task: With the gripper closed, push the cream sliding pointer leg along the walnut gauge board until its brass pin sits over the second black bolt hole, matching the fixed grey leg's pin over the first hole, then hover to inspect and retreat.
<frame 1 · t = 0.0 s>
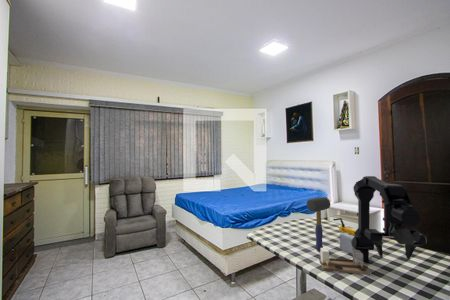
hand: (394, 258, 83), 15 cm above the table, fingers open, 9 cm apart
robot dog: (347, 241, 134), on the table
slider: (325, 257, 106), point 4 cm above the table, slide at 0.0 cm
rubber mallet: (319, 250, 122), on the table
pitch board: (343, 267, 104), on the table
medicine box: (348, 251, 121), on the table
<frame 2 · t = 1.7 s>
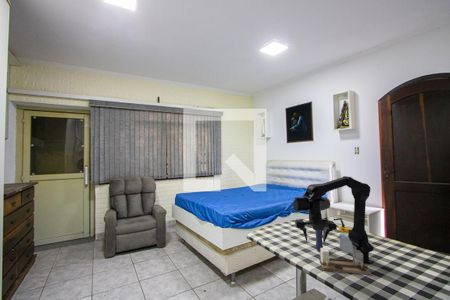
hand: (315, 241, 108), 11 cm above the table, fingers open, 8 cm apart
nothing on the table moved.
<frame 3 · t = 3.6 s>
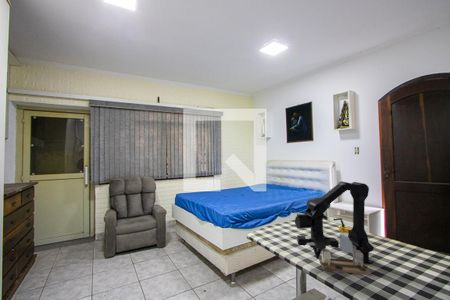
hand: (317, 258, 108), 3 cm above the table, fingers closed
slider: (326, 257, 106), point 4 cm above the table, slide at 0.6 cm, touching gripper
everything else where it was.
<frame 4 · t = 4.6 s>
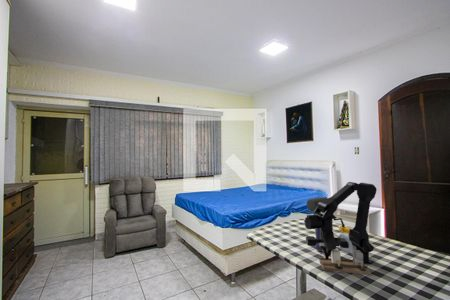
hand: (326, 259, 107), 3 cm above the table, fingers closed
slider: (336, 258, 105), point 4 cm above the table, slide at 5.1 cm, touching gripper
everything else where it was.
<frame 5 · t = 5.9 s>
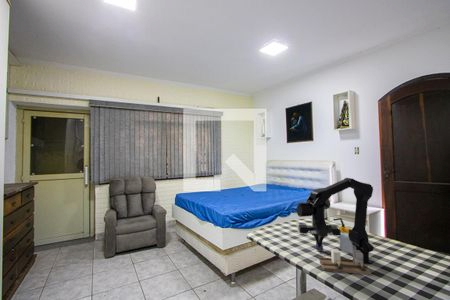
hand: (318, 246, 108), 9 cm above the table, fingers closed
slider: (336, 258, 105), point 4 cm above the table, slide at 5.1 cm
everything else where it was.
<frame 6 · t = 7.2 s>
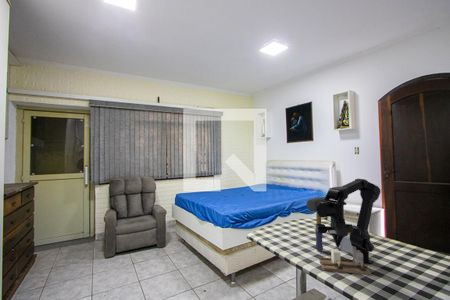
hand: (337, 247, 104), 10 cm above the table, fingers closed
nothing on the table moved.
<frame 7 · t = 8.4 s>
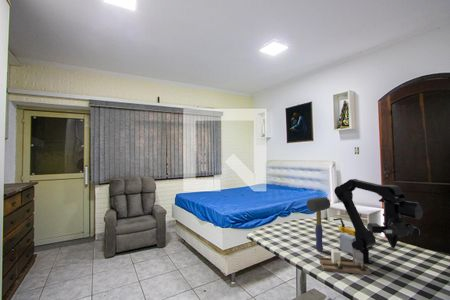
hand: (392, 247, 98), 12 cm above the table, fingers closed
nothing on the table moved.
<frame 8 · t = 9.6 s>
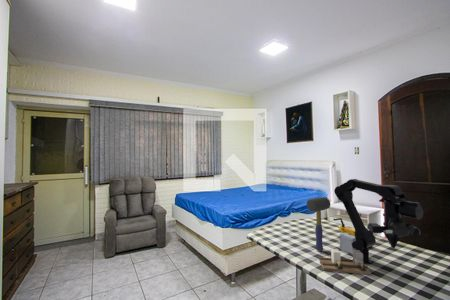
hand: (393, 247, 98), 12 cm above the table, fingers closed
nothing on the table moved.
at the end: slider slide at 5.1 cm; slider 0.1 cm from the target spot, point 4.3 cm above the table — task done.
